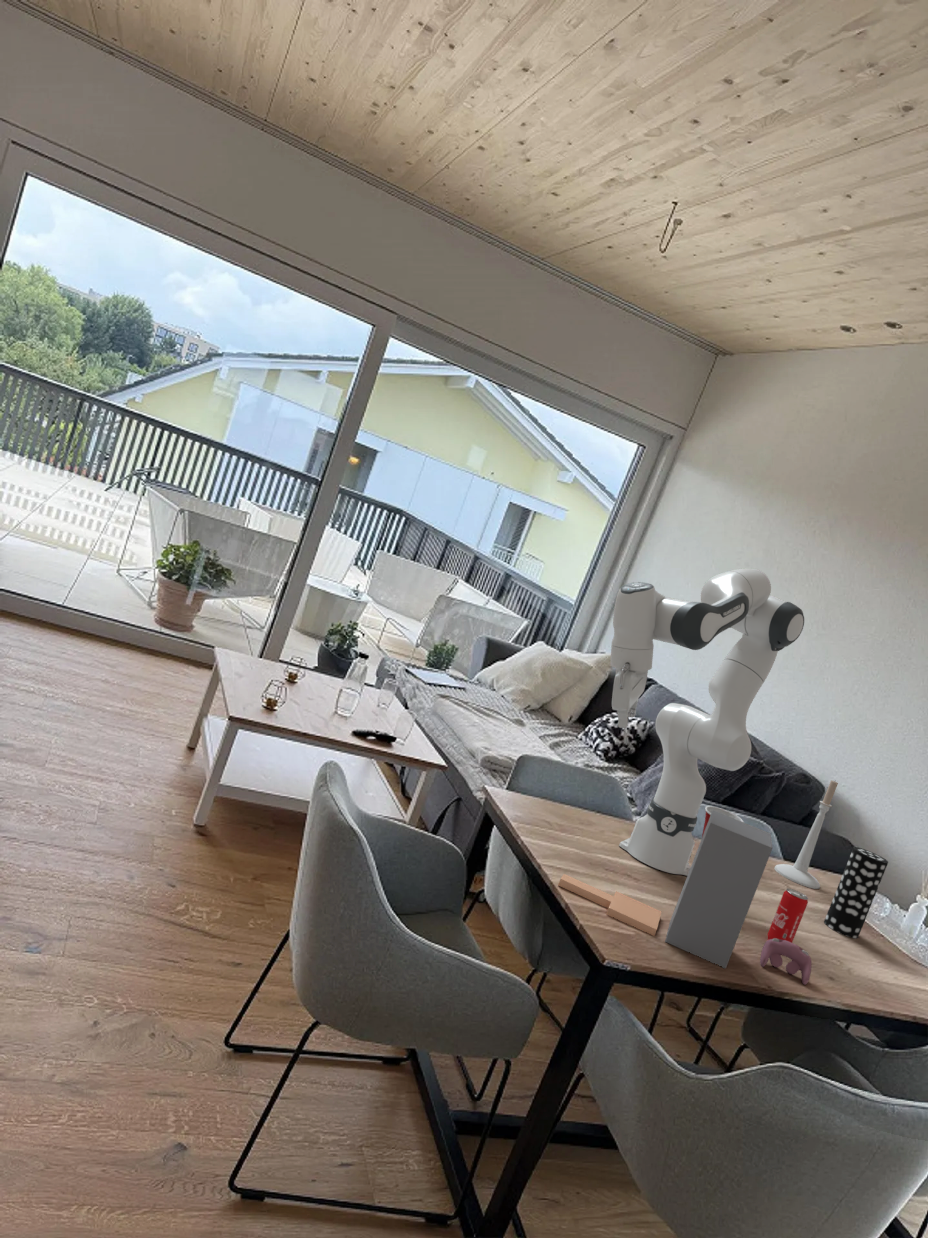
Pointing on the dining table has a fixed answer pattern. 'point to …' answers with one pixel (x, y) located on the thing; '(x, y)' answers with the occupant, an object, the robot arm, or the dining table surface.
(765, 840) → the tall box
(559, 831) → the dining table surface
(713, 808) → the plastic cup
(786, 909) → the beverage can
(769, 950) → the video game controller
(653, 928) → the wooden paddle
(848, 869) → the white-spotted black cylinder
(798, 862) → the candlestick
